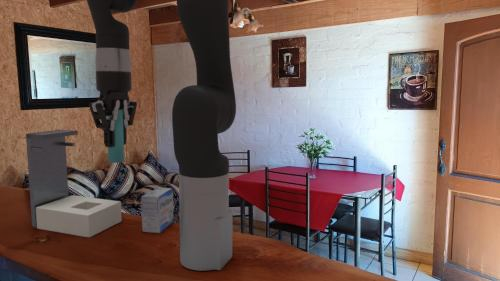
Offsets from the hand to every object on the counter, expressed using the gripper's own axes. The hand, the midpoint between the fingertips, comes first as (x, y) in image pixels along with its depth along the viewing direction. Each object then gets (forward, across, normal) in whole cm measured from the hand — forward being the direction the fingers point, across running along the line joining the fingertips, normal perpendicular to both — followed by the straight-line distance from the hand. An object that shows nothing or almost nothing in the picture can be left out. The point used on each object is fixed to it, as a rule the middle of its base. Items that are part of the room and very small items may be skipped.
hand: (115, 145), depth 87 cm
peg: (+4, 0, 0) cm, 4 cm away
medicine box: (+20, +3, -9) cm, 22 cm away
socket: (+19, -3, +9) cm, 22 cm away
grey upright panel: (+20, -3, +16) cm, 25 cm away
